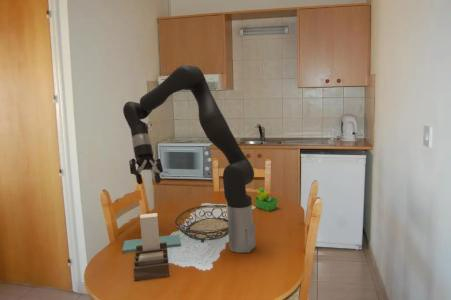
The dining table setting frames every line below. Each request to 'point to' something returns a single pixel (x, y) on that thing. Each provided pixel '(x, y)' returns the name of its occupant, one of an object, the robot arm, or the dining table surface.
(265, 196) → the fruit basket
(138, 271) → the rack
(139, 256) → the offcut mid
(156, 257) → the offcut tall
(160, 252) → the offcut short
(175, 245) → the board
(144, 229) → the beige tall block
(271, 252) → the dining table surface
